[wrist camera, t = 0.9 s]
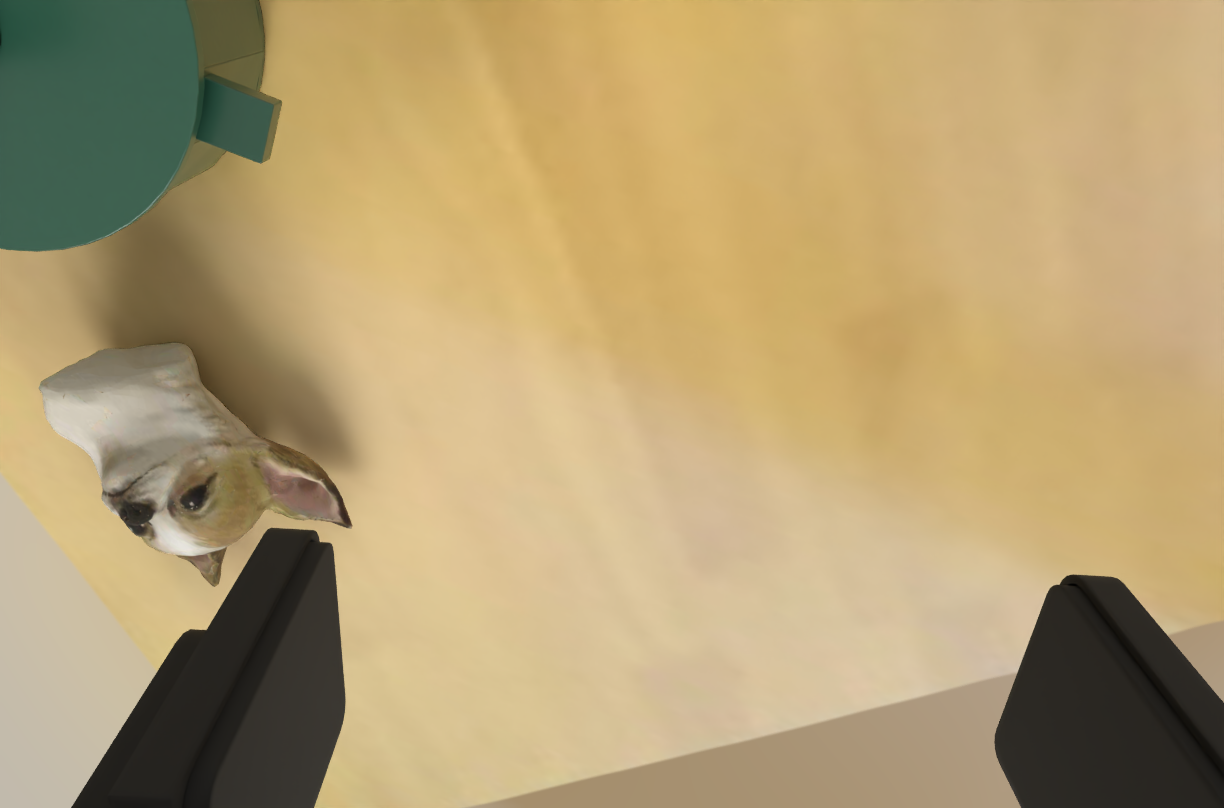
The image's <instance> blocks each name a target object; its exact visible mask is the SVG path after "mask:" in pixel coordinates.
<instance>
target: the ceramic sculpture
mask: <svg viewBox="0 0 1224 808" xmlns="http://www.w3.org/2000/svg"><path fill="white" fill-rule="evenodd" d="M39 389H40V391H41V393H42V395H43V405H44V411H45V415H46V419H47V420H48V422H49V423H50V425H51V427H52V428H53V429H54V430H55V431H56V432H57V433H58V434H59V435H61V436H62V437H64V438H66V439H68V440H69V441H71V442H73V443H74V444H76V445H77V446H79V447H80V448H82V449H83V450H84V451H85V452H87V453H88V454H89V456H90V457H91V458H92V460H93V462H94V464H95V466H96V469H97V472H98V474H99V476H100V479H101V482H102V487H103V492H102V501H103V503H104V504H105V505H106V507H107V508H108V509H109V510H110V511H111V512H113V513H114V514H116V515H118V516H120V518H121V519H122V520H123V521H124V522H125V524H126V525H127V527H128V528H129V529H130V530H131V531H132V532H133V533H134V534H135V535H136V536H138V537H142V539H143V540H144V542H145V543H146V544H147V545H148V546H150V547H152V548H153V549H155V550H157V551H160V552H163V553H167V554H172V555H176V556H178V557H180V558H182V559H185V560H188V561H190V562H191V563H192V564H193V565H194V566H195V567H197V568H198V569H199V570H200V572H201V574H202V575H203V577H204V578H205V579H206V580H207V581H208V582H209V583H210V584H211V585H212V586H214V587H215V586H216V585H218V584H219V581H220V575H221V565H222V561H223V558H224V555H225V551H226V548H227V546H229V545H231V544H232V543H234V542H236V541H237V540H238V539H240V538H241V537H242V536H243V535H244V534H245V533H246V532H248V531H249V530H250V529H251V528H252V527H253V525H254V524H255V523H256V521H257V520H258V519H259V517H260V516H261V515H262V513H263V512H264V511H265V510H266V509H272V510H273V511H274V512H276V513H280V514H283V515H285V516H287V517H289V518H292V519H298V520H308V519H311V520H321V521H327V522H332V523H335V524H338V525H340V526H343V527H346V528H352V524H351V521H350V518H349V515H348V513H347V510H346V508H345V505H344V502H343V499H342V497H341V495H340V493H339V491H338V489H337V487H336V486H335V484H334V483H333V482H332V481H331V480H330V478H329V477H328V475H327V473H326V472H325V471H324V470H323V469H322V468H321V467H320V466H319V465H318V464H317V463H315V462H314V461H313V460H312V459H310V458H309V457H307V456H306V455H304V454H302V453H300V452H297V451H295V450H293V449H291V448H289V447H286V446H283V445H280V444H277V443H275V442H273V441H270V440H268V439H265V438H261V437H257V436H256V435H255V434H254V433H252V432H251V431H250V430H249V429H248V428H247V427H246V425H245V424H244V423H243V422H242V421H241V420H239V419H238V418H237V417H236V416H235V415H233V414H232V413H231V412H230V411H229V410H228V409H227V408H226V407H225V406H224V405H223V404H222V403H221V402H220V401H219V400H218V399H217V398H216V397H215V396H214V395H213V394H212V393H210V392H209V391H208V390H207V389H206V388H205V387H204V386H203V384H202V383H201V380H200V376H199V371H198V366H197V362H196V360H195V357H194V355H193V353H192V351H191V349H190V348H189V347H188V346H187V345H185V344H182V343H176V342H173V343H166V344H158V345H148V346H139V347H134V348H129V349H104V350H100V351H97V352H96V353H94V354H92V355H91V356H89V357H87V358H85V359H82V360H80V361H78V362H77V363H75V364H72V365H70V366H67V367H65V368H64V369H62V370H60V371H59V372H57V373H55V374H54V375H52V376H50V377H48V378H46V379H44V380H43V381H42V382H41V383H40V386H39Z"/></svg>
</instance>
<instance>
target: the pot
mask: <svg viewBox="0 0 1224 808" xmlns="http://www.w3.org/2000/svg"><path fill="white" fill-rule="evenodd" d="M192 1H193V5H194V8H195V12H196V16H197V19H198V23H199V28H200V35H201V41H202V48H203V55H204V85H205V89H204V98H203V107H202V116H201V120H200V124H199V128H198V132H197V136H196V140H195V143H194V146H193V148H192V150H191V153H190V155H189V157H188V160H187V162H186V165H185V167H184V168H183V170H182V172H181V173H180V175H179V176H178V178H177V180H176V181H175V183H174V184H173V186H172V187H171V189H172V188H174V187H176V186H178V185H180V184H182V183H183V182H185V181H187V180H189V179H191V178H193V177H195V176H196V175H198V174H200V173H202V172H204V171H206V170H208V169H210V168H211V167H212V166H214V165H215V164H216V162H217V161H218V160H219V159H220V157H221V156H222V155H223V154H224V153H225V152H226V151H229V152H231V153H234V154H237V155H239V156H242V157H244V158H247V159H250V160H252V161H255V162H258V163H260V164H261V163H263V162H265V161H267V160H268V159H270V156H271V151H272V147H273V142H274V138H275V133H276V129H277V124H278V119H279V115H280V110H281V106H282V101H281V100H278V99H276V98H273V97H271V96H268V95H266V94H263V93H261V92H259V90H260V86H261V82H262V74H263V67H264V29H263V20H262V12H261V8H260V4H259V0H192Z"/></svg>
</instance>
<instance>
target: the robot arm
mask: <svg viewBox="0 0 1224 808" xmlns="http://www.w3.org/2000/svg"><path fill="white" fill-rule="evenodd" d="M344 713H345V687H344V674H343V662H342V649H341V637H340V624H339V612H338V600H337V587H336V575H335V562H334V551H333V547H332V544H331V543H325V542H320V541H319V536H318V534H317V532H316V531H314V530H299V529H281V528H270V529H268V530H267V531H266V532H265V534H264V535H263V537H262V539H261V540H260V542H259V544H258V545H257V547H256V549H255V550H254V552H253V554H252V555H251V557H250V559H249V560H248V562H247V564H246V565H245V567H244V569H243V570H242V572H241V574H240V575H239V577H238V579H237V580H236V582H235V584H234V585H233V587H232V589H231V590H230V592H229V594H228V595H227V597H226V599H225V600H224V602H223V604H222V605H221V607H220V609H219V610H218V612H217V614H216V615H215V617H214V619H213V620H212V622H211V624H210V625H209V627H208V629H207V630H192V629H190V630H189V631H187V632H185V633H183V634H182V636H181V637H180V638H179V639H178V641H177V642H176V643H175V645H174V646H173V648H172V649H171V651H170V653H169V654H168V656H167V657H166V659H165V660H164V662H163V664H162V665H161V667H160V668H159V670H158V672H157V673H156V675H155V677H154V678H153V679H152V681H151V683H150V684H149V686H148V687H147V689H146V691H145V692H144V694H143V695H142V697H141V698H140V700H139V702H138V703H137V705H136V706H135V708H134V709H133V711H132V713H131V714H130V716H129V717H128V719H127V721H126V722H125V724H124V725H123V727H122V728H121V730H120V732H119V733H118V735H117V736H116V738H115V739H114V741H113V743H112V744H111V746H110V748H109V749H108V750H107V752H106V754H105V755H104V757H103V758H102V760H101V762H100V763H99V765H98V766H97V768H96V769H95V771H94V773H93V774H92V776H91V777H90V779H89V780H88V782H87V784H86V785H85V787H84V788H83V790H82V792H81V793H80V795H79V796H78V798H77V799H76V801H75V803H74V804H73V806H72V807H71V808H314V806H315V803H316V800H317V797H318V794H319V791H320V789H321V786H322V783H323V780H324V777H325V774H326V771H327V768H328V765H329V763H330V760H331V757H332V754H333V751H334V748H335V745H336V742H337V739H338V736H339V734H340V731H341V727H342V724H343V719H344ZM995 750H996V755H997V758H998V761H999V763H1000V765H1001V767H1002V769H1003V771H1004V773H1005V775H1006V778H1007V780H1008V782H1009V783H1010V786H1011V788H1012V790H1013V791H1014V794H1015V796H1016V798H1017V800H1018V802H1019V804H1020V806H1021V808H1224V703H1223V701H1222V700H1221V699H1220V698H1219V697H1218V696H1217V694H1216V693H1215V692H1214V691H1213V690H1212V688H1211V687H1210V686H1209V685H1208V684H1207V682H1206V681H1205V680H1204V679H1203V678H1202V676H1201V675H1200V674H1199V673H1198V672H1197V670H1196V669H1195V668H1194V667H1193V666H1192V664H1191V663H1190V662H1189V661H1188V660H1187V658H1186V657H1185V656H1184V655H1183V654H1182V653H1181V651H1180V650H1179V649H1178V648H1177V647H1176V645H1175V644H1174V643H1173V642H1172V641H1171V639H1170V638H1169V637H1168V636H1167V635H1166V633H1165V632H1164V631H1163V630H1162V629H1161V627H1160V626H1159V625H1158V624H1157V623H1156V621H1155V620H1154V619H1153V618H1152V617H1151V616H1150V614H1149V613H1148V612H1147V611H1146V610H1145V608H1144V607H1143V606H1142V605H1141V604H1140V602H1139V601H1138V600H1137V599H1136V598H1135V596H1134V595H1133V594H1132V593H1131V592H1130V590H1129V589H1128V588H1127V587H1126V586H1125V584H1124V583H1122V582H1121V581H1120V580H1119V579H1117V578H1114V577H1105V576H1088V575H1069V576H1066V577H1065V578H1064V579H1063V580H1062V582H1061V583H1060V585H1054V586H1052V587H1051V588H1050V589H1049V591H1048V593H1047V595H1046V598H1045V601H1044V603H1043V606H1042V609H1041V611H1040V614H1039V617H1038V620H1037V622H1036V625H1035V628H1034V630H1033V633H1032V636H1031V638H1030V641H1029V644H1028V646H1027V649H1026V652H1025V654H1024V657H1023V660H1022V662H1021V665H1020V668H1019V670H1018V673H1017V676H1016V679H1015V681H1014V684H1013V687H1012V689H1011V692H1010V695H1009V697H1008V700H1007V703H1006V705H1005V708H1004V711H1003V713H1002V716H1001V719H1000V721H999V724H998V727H997V730H996V733H995Z"/></svg>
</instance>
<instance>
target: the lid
mask: <svg viewBox="0 0 1224 808" xmlns="http://www.w3.org/2000/svg"><path fill="white" fill-rule="evenodd" d="M204 89H205V85H204V55H203V48H202V41H201V35H200V28H199V23H198V19H197V16H196V12H195V8H194V5H193V1H192V0H0V248H1V249H6V250H18V251H36V252H37V251H51V250H63V249H68V248H73V247H77V246H82V245H87V244H90V243H92V242H95V241H98V240H100V239H103V238H106V237H108V236H111V235H112V234H114V233H116V232H118V231H120V230H121V229H123V228H125V227H127V226H128V225H130V224H132V223H134V222H135V221H137V220H138V219H140V218H141V217H142V216H143V215H144V214H146V213H147V212H148V211H149V210H151V209H152V208H153V207H154V206H156V204H157V203H158V202H159V201H160V200H161V199H162V198H163V197H164V195H165V194H166V193H167V192H168V191H169V190H170V189H171V187H172V186H173V184H174V183H175V181H176V180H177V178H178V176H179V175H180V173H181V172H182V170H183V168H184V167H185V165H186V162H187V160H188V157H189V155H190V153H191V150H192V148H193V146H194V143H195V140H196V136H197V132H198V128H199V124H200V120H201V116H202V107H203V98H204Z"/></svg>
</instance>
